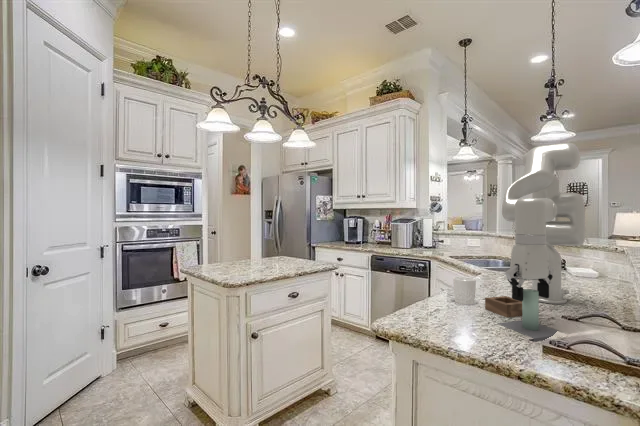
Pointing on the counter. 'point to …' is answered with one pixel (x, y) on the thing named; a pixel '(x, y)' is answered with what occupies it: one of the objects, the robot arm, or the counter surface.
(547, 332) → the mat
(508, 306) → the box
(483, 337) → the counter surface
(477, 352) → the counter surface
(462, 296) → the white cup
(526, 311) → the pale green cylinder
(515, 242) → the robot arm
